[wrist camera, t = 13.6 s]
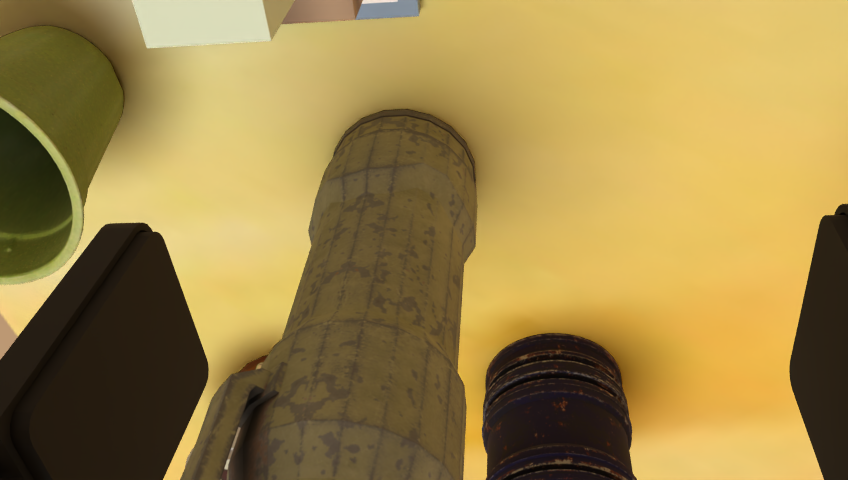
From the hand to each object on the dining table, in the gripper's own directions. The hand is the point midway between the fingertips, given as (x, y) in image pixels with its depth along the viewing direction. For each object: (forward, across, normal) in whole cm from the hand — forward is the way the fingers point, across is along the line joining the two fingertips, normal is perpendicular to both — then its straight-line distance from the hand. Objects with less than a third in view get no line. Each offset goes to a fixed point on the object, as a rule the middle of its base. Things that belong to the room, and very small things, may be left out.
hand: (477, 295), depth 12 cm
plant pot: (+31, +26, +9) cm, 42 cm away
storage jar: (+33, -1, +35) cm, 48 cm away
